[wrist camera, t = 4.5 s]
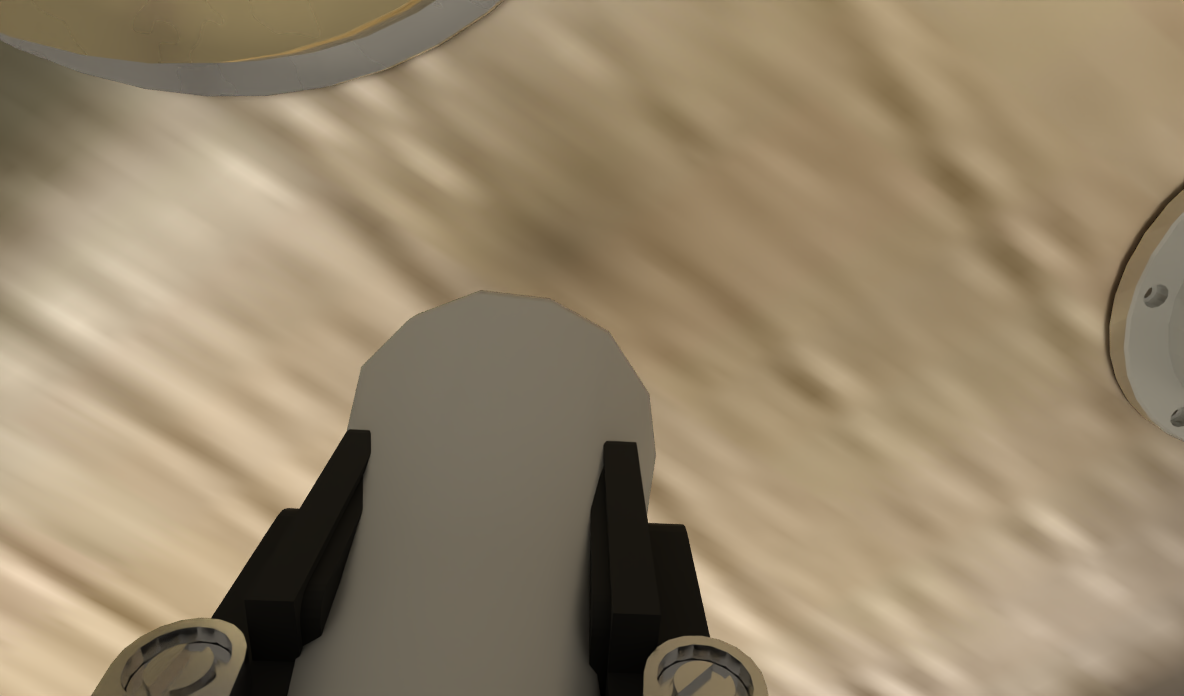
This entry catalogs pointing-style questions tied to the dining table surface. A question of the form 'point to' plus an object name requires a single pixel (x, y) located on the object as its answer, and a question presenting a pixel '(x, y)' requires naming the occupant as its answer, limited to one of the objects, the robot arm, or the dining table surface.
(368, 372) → the salt shaker
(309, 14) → the round wooden platform
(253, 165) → the dining table surface
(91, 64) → the round white base
